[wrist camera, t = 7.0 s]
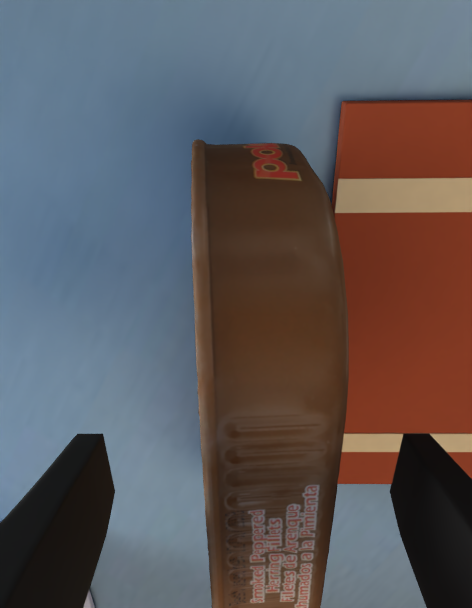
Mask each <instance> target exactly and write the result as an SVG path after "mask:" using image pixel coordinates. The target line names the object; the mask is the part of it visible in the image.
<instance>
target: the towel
mask: <svg viewBox="0 0 472 608" xmlns="http://www.w3.org/2000/svg"><path fill="white" fill-rule="evenodd" d="M332 209H333V214H334V218H335V222H336V226H337V231H338V236H339V242H340V247H341V253H342V258H343V266H344V276H345V287H346V297H347V308H348V336H349V381H348V397H347V412H346V421H345V429H344V437H343V445H342V453H341V461H340V471H339V477H338V483H337V484H392V480H393V476H394V472H395V468H396V463H397V459H398V455H399V450H400V446H401V442H402V438H403V434H405V433H429V434H430V435H431V436H432V437H433V438H434V439H435V440H436V441H437V442H438V443H439V444H440V445H441V447H442V448H443V449H444V450H445V451H446V452H447V453H448V454H449V455H450V456H451V457H452V458H453V460H454V461H455V462H456V463H457V464H458V465H459V466H460V467H461V468H462V469H463V470H464V471H465V472H466V473H467V475H468V476H469V477H470V478H471V479H472V100H383V101H342V104H341V115H340V125H339V135H338V146H337V156H336V167H335V177H334V187H333V198H332Z"/></svg>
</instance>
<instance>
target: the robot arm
mask: <svg viewBox="0 0 472 608" xmlns="http://www.w3.org/2000/svg"><path fill="white" fill-rule="evenodd" d="M114 494H115V489H114V484H113V480H112V475H111V470H110V465H109V461H108V456H107V451H106V446H105V441H104V437H103V434H77V435H76V436H75V437H74V438H73V439H72V440H71V442H70V443H69V444H68V445H67V447H66V448H65V449H64V450H63V451H62V453H61V454H60V455H59V456H58V457H57V459H56V460H55V461H54V462H53V464H52V465H51V466H50V467H49V468H48V470H47V471H46V472H45V473H44V474H43V475H42V477H41V478H40V479H39V480H38V481H37V483H36V484H35V485H34V486H33V487H32V488H31V489H30V491H29V492H28V493H27V494H26V495H25V496H24V497H23V498H22V500H21V501H20V502H19V503H18V504H17V505H16V506H15V508H14V509H13V510H12V511H11V512H10V513H9V514H8V515H7V516H6V517H5V519H4V520H3V521H2V522H1V523H0V608H95V606H94V603H93V600H92V596H91V593H90V590H89V588H90V585H91V582H92V579H93V576H94V573H95V570H96V566H97V563H98V560H99V557H100V554H101V550H102V547H103V544H104V541H105V537H106V534H107V529H108V524H109V519H110V515H111V509H112V504H113V499H114ZM390 494H391V498H392V502H393V507H394V511H395V515H396V519H397V523H398V527H399V531H400V535H401V538H402V541H403V544H404V547H405V549H406V552H407V555H408V558H409V560H410V563H411V566H412V569H413V572H414V574H415V577H416V580H417V582H418V585H419V588H420V591H421V593H422V596H423V599H424V601H425V604H426V607H427V608H472V479H471V478H470V477H469V476H468V475H467V473H466V472H465V471H464V470H463V469H462V468H461V467H460V466H459V465H458V464H457V463H456V462H455V461H454V460H453V458H452V457H451V456H450V455H449V454H448V453H447V452H446V451H445V450H444V449H443V448H442V447H441V445H440V444H439V443H438V442H437V441H436V440H435V439H434V438H433V437H432V436H431V435H430V434H429V433H405V434H403V438H402V442H401V446H400V450H399V455H398V459H397V463H396V468H395V472H394V476H393V480H392V485H391V489H390Z"/></svg>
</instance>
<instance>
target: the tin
mask: <svg viewBox="0 0 472 608" xmlns="http://www.w3.org/2000/svg"><path fill="white" fill-rule="evenodd" d="M191 171H192V186H191V199H192V202H191V216H192V232H191V241H192V267H193V288H194V305H195V345H196V365H197V376H198V400H199V412H198V413H199V416H200V434H201V454H202V463H203V483H204V496H205V515H206V527H207V538H208V551H209V553H208V555H209V570H210V583H211V597H212V608H320V605H321V600H322V593H323V587H324V579H325V572H326V565H327V558H328V553H329V544H330V536H331V530H332V523H333V515H334V507H335V500H336V493H337V483H338V477H339V471H340V461H341V453H342V445H343V437H344V429H345V421H346V412H347V397H348V381H349V336H348V308H347V297H346V287H345V276H344V266H343V258H342V253H341V247H340V242H339V236H338V231H337V226H336V222H335V218H334V214H333V209H332V206H331V202H330V199H329V197H328V194H327V192H326V190H325V188H324V185H323V183H322V182H321V180H320V179H319V178H318V176H317V175H316V174H315V172H314V171H313V169H312V168H311V167H310V165H309V163H308V162H307V160H306V158H305V157H304V155H303V154H302V153H301V151H300V150H299V149H298V148H296V147H295V146H292V145H289V144H278V143H261V144H228V145H212V144H206V143H205V142H204V141H203V140H194V142H193V144H192V161H191Z"/></svg>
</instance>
